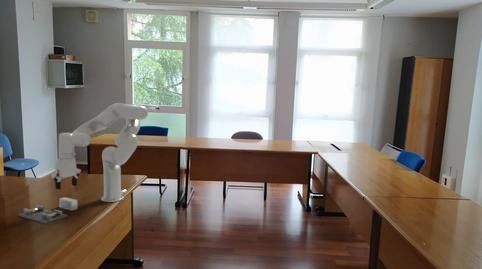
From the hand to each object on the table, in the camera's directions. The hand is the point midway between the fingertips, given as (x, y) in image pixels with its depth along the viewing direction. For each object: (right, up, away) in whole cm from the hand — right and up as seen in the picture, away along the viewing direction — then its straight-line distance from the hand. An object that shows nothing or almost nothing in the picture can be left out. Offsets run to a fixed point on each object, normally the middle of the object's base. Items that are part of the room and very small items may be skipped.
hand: (66, 187), depth 186 cm
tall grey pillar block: (0, -12, +2) cm, 12 cm away
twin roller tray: (-6, -13, -11) cm, 18 cm away
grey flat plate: (-6, -13, -11) cm, 18 cm away
